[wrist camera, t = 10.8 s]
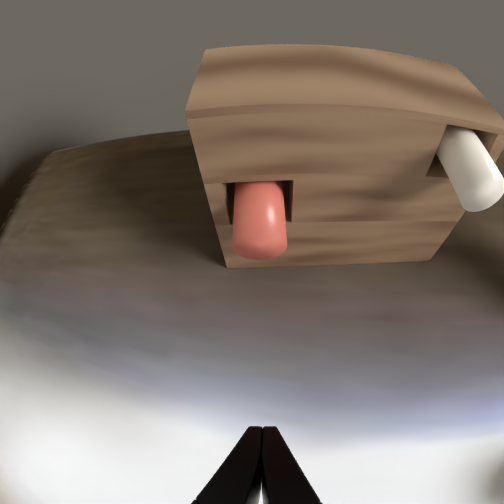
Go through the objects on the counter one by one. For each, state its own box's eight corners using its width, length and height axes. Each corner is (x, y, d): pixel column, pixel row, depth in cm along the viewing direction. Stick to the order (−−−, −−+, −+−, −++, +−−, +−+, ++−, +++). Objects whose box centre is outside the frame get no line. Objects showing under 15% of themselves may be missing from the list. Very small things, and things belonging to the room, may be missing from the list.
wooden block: (429, 260, 25) (512, 131, 12) (227, 268, 26) (184, 111, 13) (407, 192, 29) (453, 65, 16) (231, 194, 30) (205, 49, 17)
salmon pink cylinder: (286, 259, 18) (287, 229, 16) (235, 260, 18) (228, 231, 16) (280, 174, 22) (280, 142, 19) (238, 175, 22) (234, 144, 19)
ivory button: (490, 212, 14) (514, 177, 11) (452, 210, 14) (475, 172, 11) (447, 133, 17) (460, 100, 15) (412, 129, 17) (423, 93, 15)
